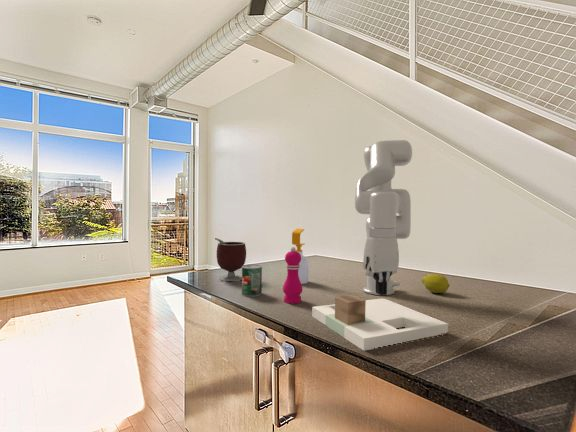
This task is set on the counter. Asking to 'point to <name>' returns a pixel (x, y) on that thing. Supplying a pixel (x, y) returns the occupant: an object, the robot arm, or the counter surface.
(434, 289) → the lemon
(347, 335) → the board
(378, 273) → the robot arm
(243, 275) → the canned tomato
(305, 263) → the soap bottle
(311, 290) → the counter surface
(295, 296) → the pepper mill
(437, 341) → the counter surface
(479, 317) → the counter surface
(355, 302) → the walnut block
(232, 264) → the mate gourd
